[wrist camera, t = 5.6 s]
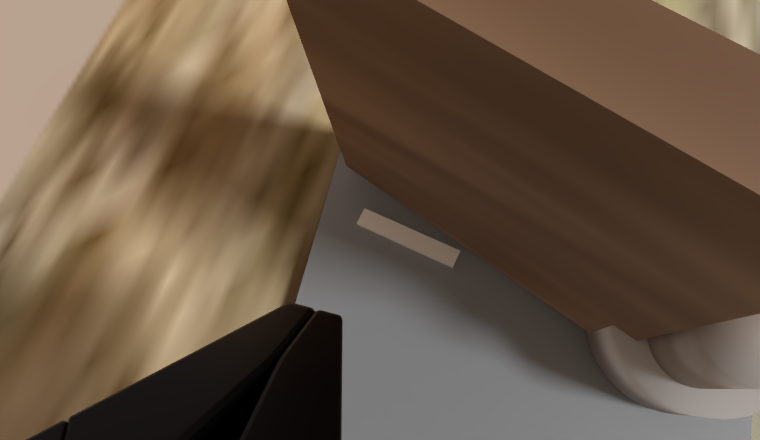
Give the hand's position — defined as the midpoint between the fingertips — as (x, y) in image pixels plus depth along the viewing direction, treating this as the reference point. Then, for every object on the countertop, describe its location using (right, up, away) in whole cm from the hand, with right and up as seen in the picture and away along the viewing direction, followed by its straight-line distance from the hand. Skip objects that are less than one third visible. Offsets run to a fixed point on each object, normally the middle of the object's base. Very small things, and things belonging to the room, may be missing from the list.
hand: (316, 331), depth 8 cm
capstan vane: (+5, +1, +7) cm, 8 cm away
